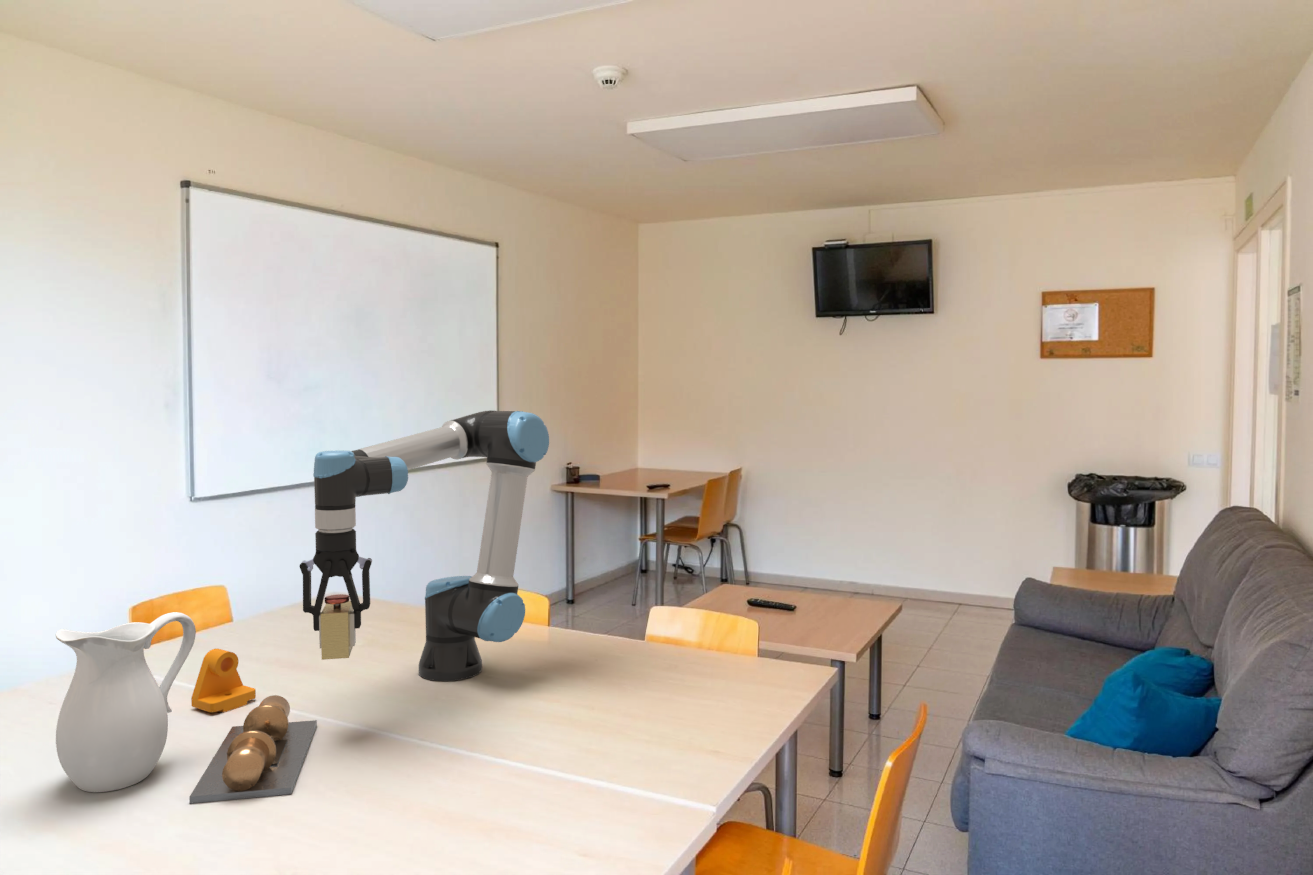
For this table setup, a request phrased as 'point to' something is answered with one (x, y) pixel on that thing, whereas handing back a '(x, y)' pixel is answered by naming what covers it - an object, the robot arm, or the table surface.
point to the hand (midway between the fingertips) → (337, 645)
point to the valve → (336, 627)
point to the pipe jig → (257, 756)
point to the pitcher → (116, 705)
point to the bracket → (220, 684)
